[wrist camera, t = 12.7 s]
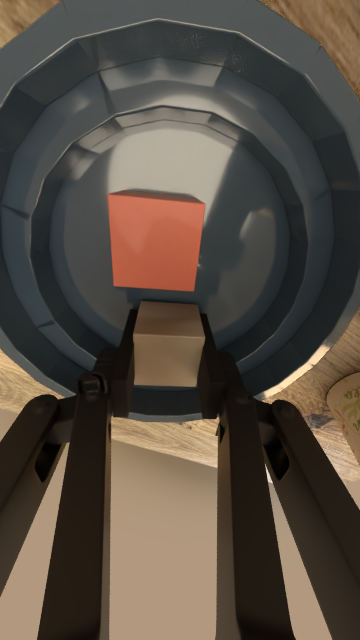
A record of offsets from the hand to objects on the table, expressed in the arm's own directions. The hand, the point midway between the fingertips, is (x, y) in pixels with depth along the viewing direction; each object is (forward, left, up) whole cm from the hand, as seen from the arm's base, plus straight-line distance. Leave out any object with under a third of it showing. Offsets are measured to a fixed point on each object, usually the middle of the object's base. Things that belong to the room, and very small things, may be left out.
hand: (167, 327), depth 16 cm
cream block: (0, 0, 0) cm, 0 cm away
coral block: (+1, -6, -1) cm, 7 cm away
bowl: (0, -4, -1) cm, 4 cm away
